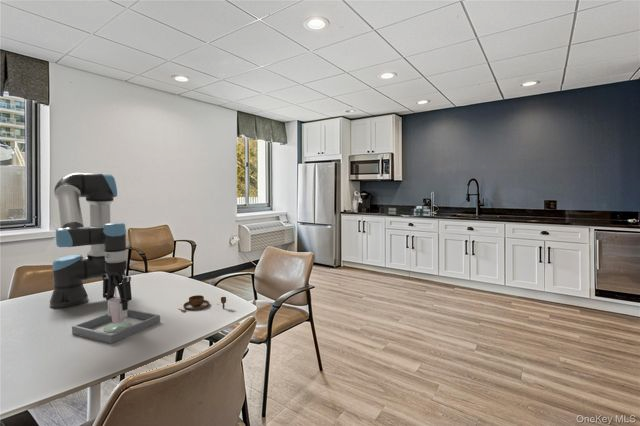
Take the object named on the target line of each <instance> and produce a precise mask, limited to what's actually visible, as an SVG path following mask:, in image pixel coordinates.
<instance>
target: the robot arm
mask: <svg viewBox="0 0 640 426" xmlns="http://www.w3.org/2000/svg"><path fill="white" fill-rule="evenodd" d="M53 191H54V192H53V193H54V197H55V198H56V200H57V202H58V212H59V221H60V228H57V229H56V230H55V244H56V246H57V247H59V248H73V247H74V248H75V247H83V246H90V250H89V251H87V254H86V255H87V256H83V255H82V254H71V255H65V256H62V257H61V256H60V257H58V258H56V259H54V261H53V262H52V269H51V270H52V277H53V278H52V279H53V281H52V282H53V283H52V284H53V291H52V294H51V297H50V300H49V307H50V308H52V309H53V308H54V309H55V308H56V309H61V308H62V309H64V308H72V307H75V306H79V305H82V304H85V303H87V301H88V300H89V296H88V293H87V291H86V289H85V287H84V281H86V280H87V281H88V280H93V279H101V278H102V298H103V299H106V303H107V305H106V306H107V314H108V316H111V311H110V306H109V303H108V300H109V299H111V298H114V297H115V289H117V291H118V295H119V296H118V297H120V299H121V302H119V303H120V319H122V318H123V319H124V318H127V317H128V316H127V309H129V307H128V306H129V305H128V302H129V301H132V300H133V298H132V287H131V286H132V285H131V280H132V277H131V276H130V275H129V276H127V275H126V273H125V271H126V270H127V268H128V267H127V265H128V264H127V263H128V262H127V259H128V257H127V239H126V237H127V236H126V233H127V229H126V224H125V223H124V222H111V204H112V202H114V198H117V197H118V187H117V182H116V180H115V177H114V176H113V175H112V174H109V173H104V172H103V173H94V172H93V173H91V172H90V173H88V172H86V173H85V172H83V173H82V172H74V173H69V174H68V175H65V176H64V177H62V178H61V179H59V180H58V181H57V183H56V184H55V186H54V190H53ZM80 198H85V201H86V202H87V203H88V204H89V221H90V222H89V225H90V226H84V220H83V214H82V208H81V203H80Z"/></svg>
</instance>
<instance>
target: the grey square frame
mask: <svg viewBox="0 0 640 426" xmlns="http://www.w3.org/2000/svg"><path fill="white" fill-rule="evenodd" d="M127 317H129V318H134V319H140V320H142V321H140V322H138V323H135V324H133V323H132V322H129V321H123V322H122V323H118V324H113V323H111V324H109V325H108V324H107V326H105V327H104V328H103V331H99V330H95V329H92V328H94V327H96V326H99V325H101V324H105V323H107V322H110V321H112V317H111V316H108V313H105V314H103V315H100V316H96V317H94V318H91V319H89V320H85V321H82V322H80V323H77V324H74V325H71V334H72V335H76V336H80V337H84V338H88V339H92V340H96V341H99V342H103V343H106V344H110V345H112V344H114V343H116V342H119V341H121V340H123V339H125V338H127V337H129V336H131V335H134V334H136V333H138V332H141V331H143V330H145V329H147V328H149V327H152V326H153V325H157V324H158V323H160V322H161V315H160V314H157V313H151V312H147V311H142V310H137V309H132V308H128V309H127Z"/></svg>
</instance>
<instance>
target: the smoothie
mask: <svg viewBox="0 0 640 426" xmlns="http://www.w3.org/2000/svg"><path fill="white" fill-rule="evenodd" d="M119 302H121V299H120V296H117V288H115V293H114V298H111V299H109V300H108V303H109V306H110V311H111V317H112V320H111V322H112V324H118V323H122V322H124V318H122V319H120V303H119Z"/></svg>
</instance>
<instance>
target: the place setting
mask: <svg viewBox="0 0 640 426" xmlns="http://www.w3.org/2000/svg"><path fill="white" fill-rule="evenodd" d="M226 302H227V297H226V296H221V297H220V303H221V304H222V308H223V309H222V310H225V309H226V307H225V304H226ZM204 304H205V305H204ZM182 305H183V308H184V309H180V308H178V310H179V311H181V312H182V313H185V312H186V311H199V310H204V309H206V308H207V307H209V305H210V302H209V300H207V299H205V297H204V295H200V294H199V295H191V296H190V297H188V301H187V302H185V303H184V304H182ZM202 305H203V306H202ZM187 306H191V307H187Z"/></svg>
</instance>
